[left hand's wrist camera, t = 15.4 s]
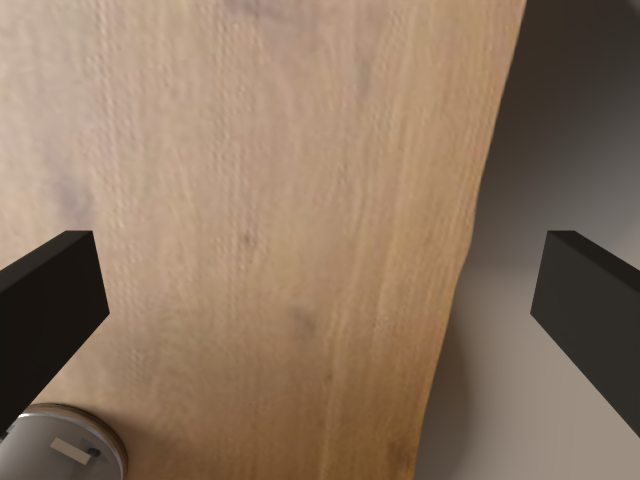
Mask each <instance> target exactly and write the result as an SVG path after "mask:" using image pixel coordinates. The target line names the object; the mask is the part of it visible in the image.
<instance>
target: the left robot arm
mask: <svg viewBox="0 0 640 480" xmlns="http://www.w3.org/2000/svg"><path fill="white" fill-rule="evenodd" d="M109 314H110V312H109V307H108V302H107V298H106V293H105V288H104V283H103V279H102V274H101V269H100V264H99V260H98V255H97V250H96V245H95V241H94V236H93V231H64V232H63V233H61V234H59V235H58V236H56V237H55V238H53V239H51V240H50V241H48V242H46V243H45V244H43V245H41V246H40V247H38V248H37V249H35V250H33V251H32V252H30V253H28V254H27V255H25V256H24V257H22V258H20V259H19V260H17V261H15V262H14V263H12V264H10V265H9V266H7V267H6V268H4V269H2V270H1V271H0V480H124V478H125V476H126V473H127V468H128V460H127V454H126V451H125V449H124V447H123V444H122V443H121V441H120V440H119V438H118V437H117V436H116V434H115V433H114V432H113V431H112V430H111V429H110V428H109V427H108V426H106V425H105V424H104V423H103V422H101V421H100V420H98V419H97V418H95V417H93V416H91V415H89V414H87V413H85V412H83V411H80V410H78V409H74V408H71V407H67V406H62V405H56V404H35V405H30V404H31V402H32V401H33V400H34V399H35V398H36V397H37V396H38V394H39V393H40V392H41V391H42V390H43V389H44V388H45V387H46V385H47V384H48V383H49V382H50V381H51V380H52V379H53V377H54V376H55V375H56V374H57V373H58V372H59V371H60V370H61V368H62V367H63V366H64V365H65V364H66V363H67V362H68V360H69V359H70V358H71V357H72V356H73V355H74V354H75V352H76V351H77V350H78V349H79V348H80V347H81V346H82V345H83V343H84V342H85V341H86V340H87V339H88V338H89V337H90V335H91V334H92V333H93V332H94V331H95V330H96V329H97V328H98V326H99V325H100V324H101V323H102V322H103V321H104V320H105V318H106V317H107V316H108V315H109ZM530 314H531V315H532V316H533V317H534V318H535V319H536V321H537V322H538V323H539V324H540V325H541V326H542V327H543V329H544V330H545V331H546V332H547V333H548V334H549V335H550V337H551V338H552V339H553V340H554V341H555V342H556V343H557V345H558V346H559V347H560V348H561V349H562V350H563V351H564V352H565V354H566V355H567V356H568V357H569V358H570V359H571V360H572V362H573V363H574V364H575V365H576V366H577V367H578V368H579V369H580V371H581V372H582V373H583V374H584V375H585V376H586V377H587V379H588V380H589V381H590V382H591V383H592V384H593V385H594V386H595V388H596V389H597V390H598V391H599V392H600V393H601V394H602V396H603V397H604V398H605V399H606V400H607V401H608V402H609V404H610V405H611V406H612V407H613V408H614V409H615V410H616V412H617V413H618V414H619V415H620V416H621V417H622V418H623V419H624V421H625V422H626V423H627V424H628V425H629V426H630V427H631V428H632V430H633V431H634V432H635V433H636V434H637V435H638V436H639V438H640V271H639V270H638V269H636V268H634V267H633V266H631V265H630V264H628V263H626V262H625V261H623V260H621V259H620V258H618V257H616V256H615V255H613V254H612V253H610V252H608V251H607V250H605V249H603V248H602V247H600V246H599V245H597V244H595V243H594V242H592V241H590V240H589V239H587V238H585V237H584V236H582V235H581V234H579V233H577V232H576V231H547V236H546V241H545V245H544V250H543V255H542V260H541V264H540V269H539V274H538V279H537V283H536V288H535V293H534V298H533V303H532V307H531V312H530Z"/></svg>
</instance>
